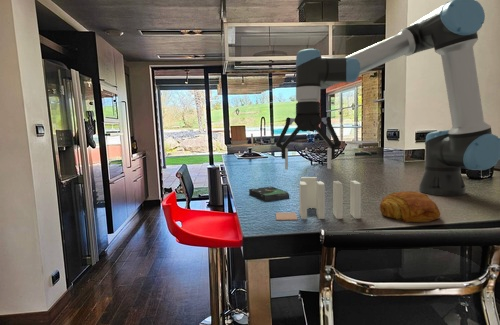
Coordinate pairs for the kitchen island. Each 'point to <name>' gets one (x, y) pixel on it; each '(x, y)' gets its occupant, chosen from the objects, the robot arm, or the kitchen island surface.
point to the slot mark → (286, 216)
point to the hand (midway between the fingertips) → (307, 168)
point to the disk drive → (269, 193)
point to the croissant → (409, 207)
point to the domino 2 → (310, 191)
